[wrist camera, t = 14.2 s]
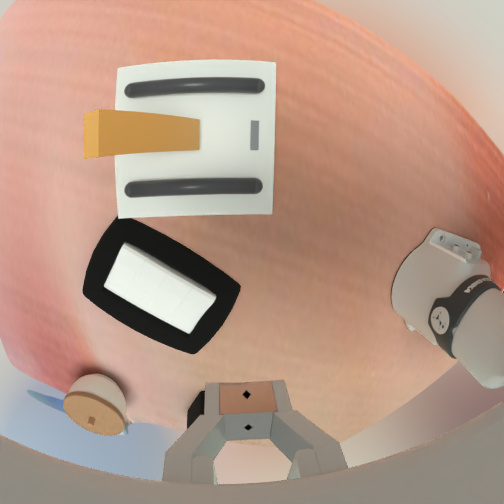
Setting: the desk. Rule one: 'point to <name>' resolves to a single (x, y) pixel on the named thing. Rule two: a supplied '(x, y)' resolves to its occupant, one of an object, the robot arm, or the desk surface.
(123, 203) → the box
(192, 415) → the battery
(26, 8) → the desk surface
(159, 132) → the lever
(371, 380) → the desk surface
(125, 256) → the black picture frame
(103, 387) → the lidded jar
